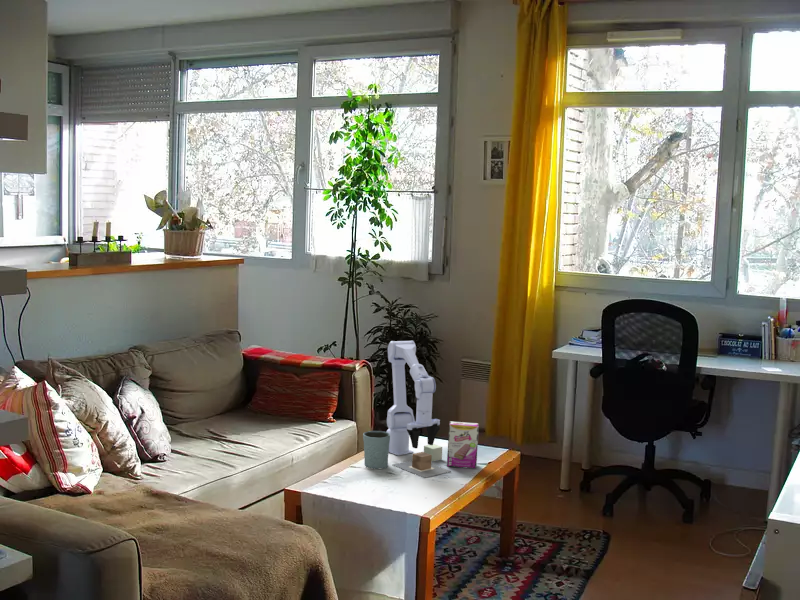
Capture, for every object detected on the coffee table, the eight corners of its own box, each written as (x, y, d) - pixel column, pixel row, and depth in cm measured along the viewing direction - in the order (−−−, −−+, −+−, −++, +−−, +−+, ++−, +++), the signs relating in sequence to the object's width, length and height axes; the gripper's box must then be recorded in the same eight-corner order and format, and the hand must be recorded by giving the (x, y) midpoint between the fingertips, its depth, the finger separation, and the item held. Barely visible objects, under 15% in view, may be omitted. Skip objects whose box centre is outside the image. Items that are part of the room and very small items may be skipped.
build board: (392, 465, 318) (392, 464, 318) (418, 459, 326) (418, 458, 326) (424, 478, 304) (424, 477, 304) (450, 471, 313) (451, 470, 313)
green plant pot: (380, 471, 310) (381, 439, 309) (356, 466, 315) (357, 434, 314) (394, 464, 319) (395, 433, 318) (371, 459, 324) (372, 428, 323)
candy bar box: (446, 467, 318) (448, 424, 317) (447, 463, 323) (449, 420, 322) (476, 469, 317) (478, 426, 316) (476, 465, 322) (478, 422, 321)
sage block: (423, 458, 329) (424, 445, 328) (433, 456, 332) (433, 443, 331) (432, 461, 325) (432, 448, 324) (441, 459, 328) (442, 446, 328)
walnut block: (411, 467, 315) (412, 453, 315) (422, 464, 319) (422, 451, 318) (420, 470, 312) (421, 457, 311) (431, 468, 315) (431, 455, 314)
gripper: (416, 414, 306) (414, 451, 307) (446, 409, 315) (444, 445, 316) (403, 410, 311) (402, 447, 313) (433, 406, 320) (431, 441, 322)
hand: (422, 446), depth 315 cm, fingers open, 7 cm apart
